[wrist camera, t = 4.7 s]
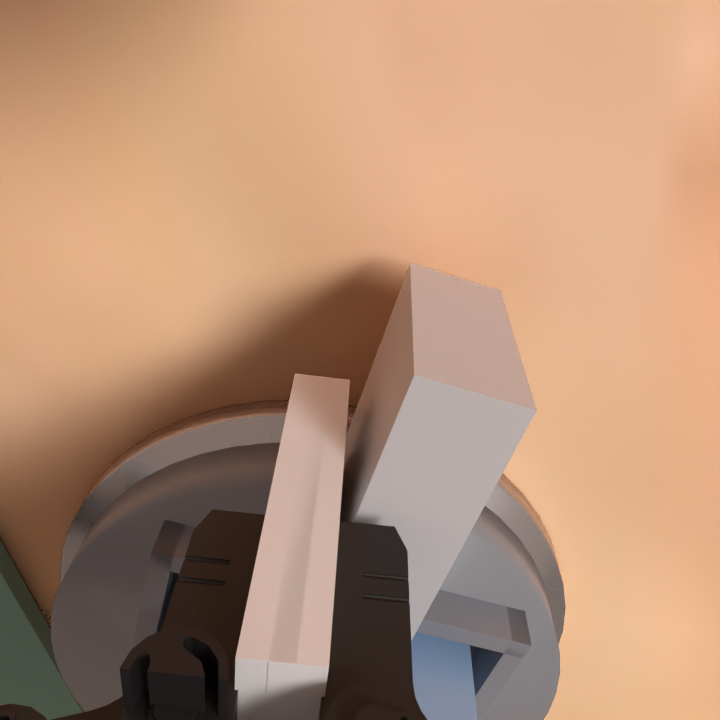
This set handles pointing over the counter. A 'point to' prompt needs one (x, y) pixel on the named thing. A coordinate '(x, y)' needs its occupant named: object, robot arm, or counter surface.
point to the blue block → (443, 678)
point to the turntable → (358, 508)
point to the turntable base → (267, 427)
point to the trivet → (28, 651)
